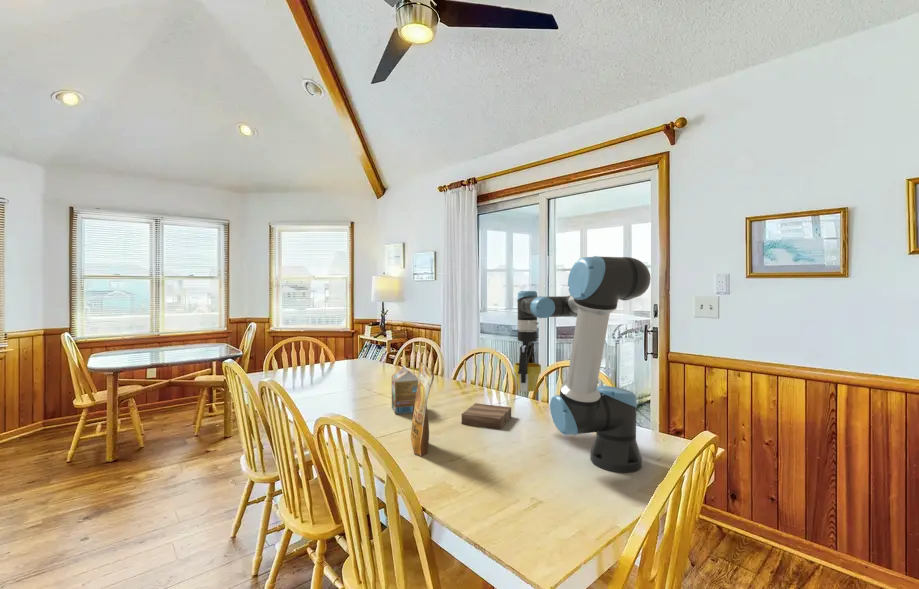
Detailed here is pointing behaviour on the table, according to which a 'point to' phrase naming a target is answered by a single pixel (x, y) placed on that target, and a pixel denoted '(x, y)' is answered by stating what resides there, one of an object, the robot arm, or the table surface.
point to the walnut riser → (486, 416)
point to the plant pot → (529, 375)
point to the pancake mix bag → (421, 412)
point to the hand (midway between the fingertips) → (527, 387)
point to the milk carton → (404, 391)
